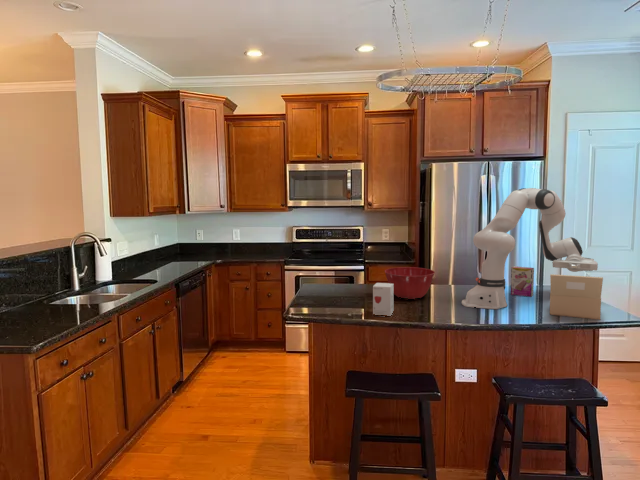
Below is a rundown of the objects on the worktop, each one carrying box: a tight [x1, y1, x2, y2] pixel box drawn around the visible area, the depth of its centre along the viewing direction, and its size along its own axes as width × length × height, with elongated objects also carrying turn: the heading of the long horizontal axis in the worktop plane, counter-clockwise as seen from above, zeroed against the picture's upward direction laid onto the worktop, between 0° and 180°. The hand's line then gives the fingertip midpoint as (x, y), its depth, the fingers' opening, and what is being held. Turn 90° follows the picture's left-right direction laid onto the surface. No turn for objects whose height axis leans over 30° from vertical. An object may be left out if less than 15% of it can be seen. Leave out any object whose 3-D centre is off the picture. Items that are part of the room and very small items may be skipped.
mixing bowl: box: [384, 266, 435, 300], centre depth 238 cm, size 28×28×15 cm
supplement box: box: [372, 282, 395, 317], centre depth 203 cm, size 9×9×15 cm
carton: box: [549, 292, 602, 321], centre depth 197 cm, size 16×20×10 cm
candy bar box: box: [510, 265, 535, 298], centre depth 235 cm, size 11×5×16 cm, turn 50°
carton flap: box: [549, 273, 604, 300], centre depth 185 cm, size 15×20×1 cm
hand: (574, 266), depth 211 cm, fingers closed
